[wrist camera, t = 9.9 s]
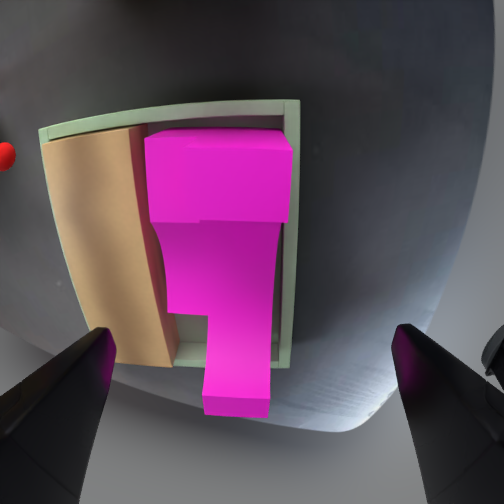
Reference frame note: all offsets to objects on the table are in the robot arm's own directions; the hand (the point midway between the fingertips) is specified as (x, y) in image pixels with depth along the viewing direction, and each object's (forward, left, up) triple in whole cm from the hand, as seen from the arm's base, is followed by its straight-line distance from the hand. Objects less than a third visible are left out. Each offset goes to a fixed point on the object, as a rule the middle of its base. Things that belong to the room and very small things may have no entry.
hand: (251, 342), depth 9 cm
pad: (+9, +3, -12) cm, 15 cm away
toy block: (+2, +3, -12) cm, 12 cm away
